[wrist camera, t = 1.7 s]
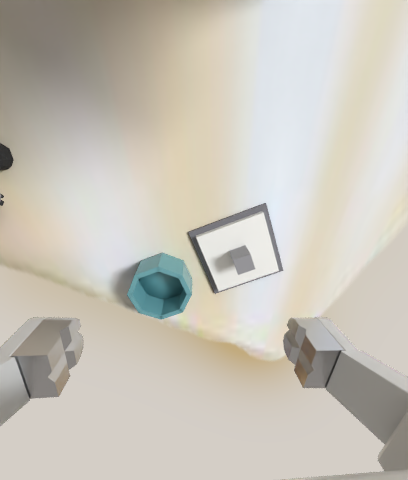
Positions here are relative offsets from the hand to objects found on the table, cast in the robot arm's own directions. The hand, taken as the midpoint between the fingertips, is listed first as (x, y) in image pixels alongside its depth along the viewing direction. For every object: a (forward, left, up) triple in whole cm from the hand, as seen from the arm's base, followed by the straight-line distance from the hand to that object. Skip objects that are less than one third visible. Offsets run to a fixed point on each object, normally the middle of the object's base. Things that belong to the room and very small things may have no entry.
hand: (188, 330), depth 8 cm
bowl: (+11, +12, -28) cm, 32 cm away
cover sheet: (-4, +12, -27) cm, 30 cm away
